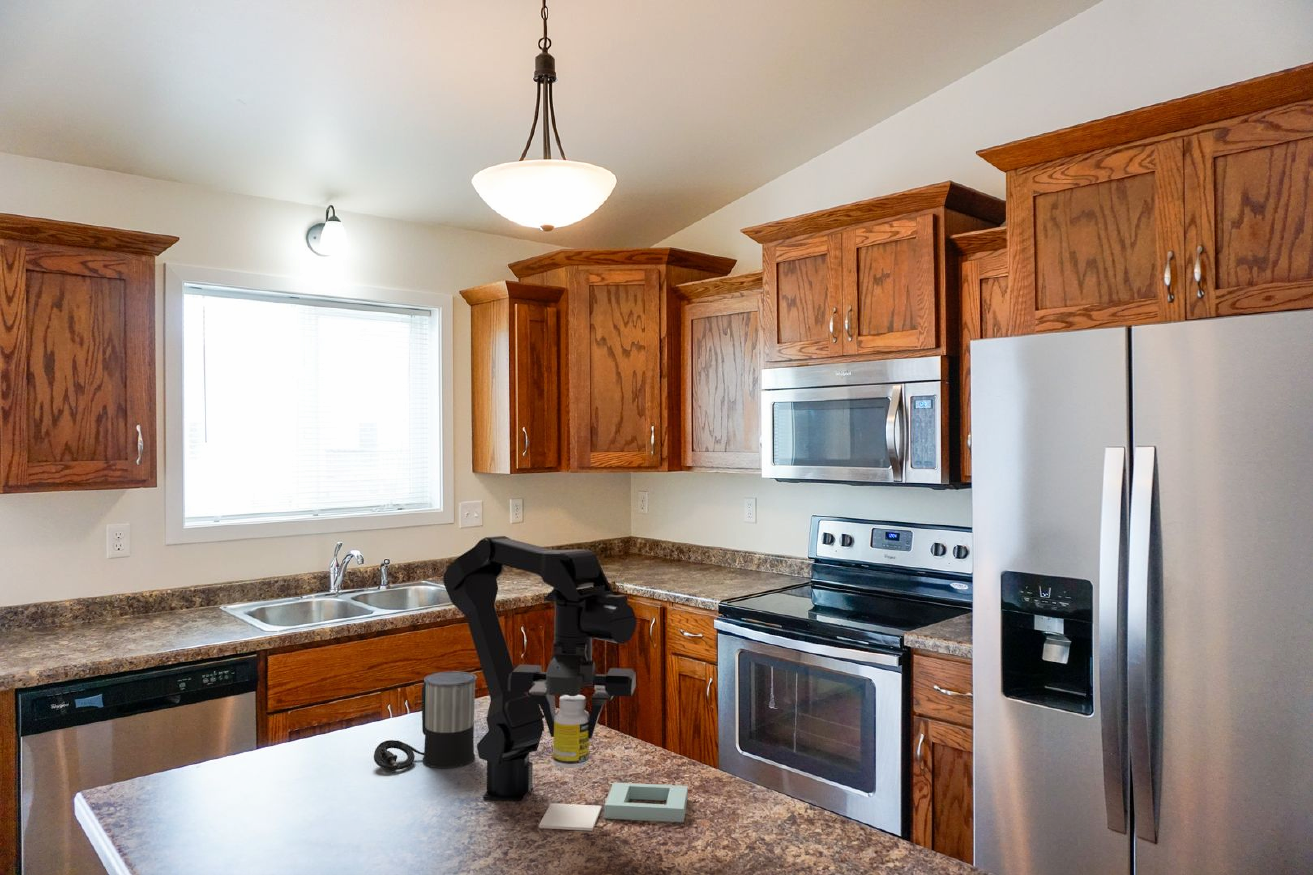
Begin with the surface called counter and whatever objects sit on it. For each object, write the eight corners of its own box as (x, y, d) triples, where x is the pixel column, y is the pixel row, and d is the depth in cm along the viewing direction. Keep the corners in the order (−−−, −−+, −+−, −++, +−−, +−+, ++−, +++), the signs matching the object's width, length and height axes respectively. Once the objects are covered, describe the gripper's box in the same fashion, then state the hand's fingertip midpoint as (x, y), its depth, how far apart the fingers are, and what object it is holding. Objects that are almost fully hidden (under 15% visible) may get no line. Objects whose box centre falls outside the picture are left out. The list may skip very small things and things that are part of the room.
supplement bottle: (583, 770, 126) (584, 703, 127) (548, 767, 128) (549, 701, 128) (593, 757, 132) (594, 693, 132) (559, 754, 133) (560, 691, 133)
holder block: (604, 818, 129) (604, 804, 129) (613, 794, 138) (613, 782, 138) (683, 822, 128) (683, 808, 128) (687, 798, 137) (687, 785, 137)
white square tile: (538, 827, 126) (538, 824, 126) (550, 805, 134) (550, 803, 134) (592, 830, 125) (592, 827, 125) (601, 808, 133) (601, 805, 133)
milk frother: (486, 757, 155) (487, 675, 155) (419, 785, 142) (420, 695, 142) (431, 743, 163) (432, 664, 163) (362, 768, 149) (364, 682, 150)
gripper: (498, 643, 123) (496, 752, 123) (627, 647, 121) (625, 758, 121) (518, 627, 134) (516, 727, 134) (636, 631, 132) (635, 733, 132)
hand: (571, 736), depth 130 cm, fingers closed on supplement bottle, 5 cm apart
